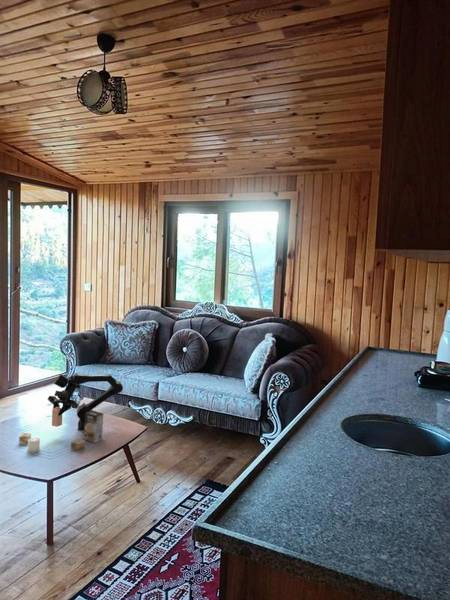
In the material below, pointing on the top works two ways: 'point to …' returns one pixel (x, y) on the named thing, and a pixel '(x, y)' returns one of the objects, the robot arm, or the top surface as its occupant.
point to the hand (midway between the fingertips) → (55, 414)
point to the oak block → (24, 438)
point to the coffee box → (93, 426)
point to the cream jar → (33, 445)
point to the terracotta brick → (56, 417)
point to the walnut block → (77, 445)
